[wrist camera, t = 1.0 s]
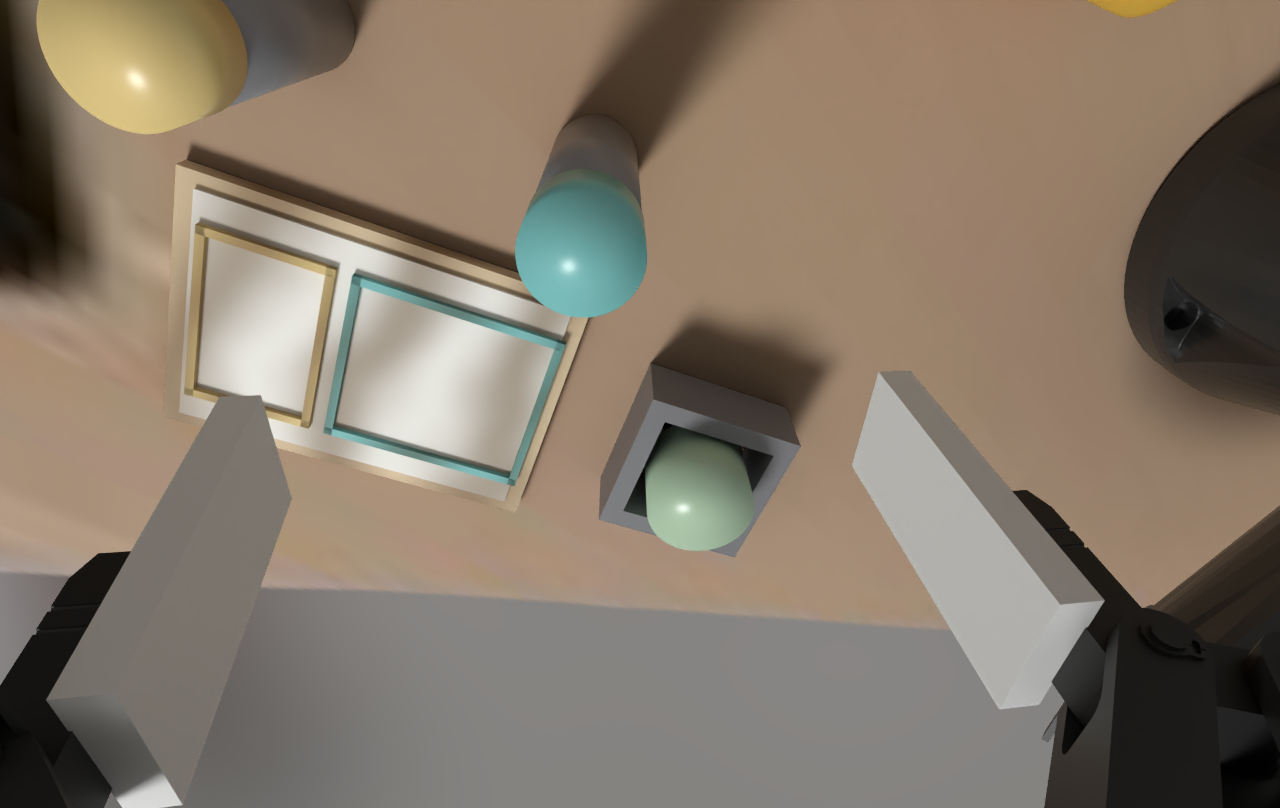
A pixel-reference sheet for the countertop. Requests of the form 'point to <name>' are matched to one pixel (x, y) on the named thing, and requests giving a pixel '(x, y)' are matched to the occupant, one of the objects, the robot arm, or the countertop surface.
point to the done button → (697, 490)
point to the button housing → (702, 412)
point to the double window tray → (359, 340)
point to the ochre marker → (186, 53)
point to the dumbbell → (1131, 6)
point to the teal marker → (585, 222)
